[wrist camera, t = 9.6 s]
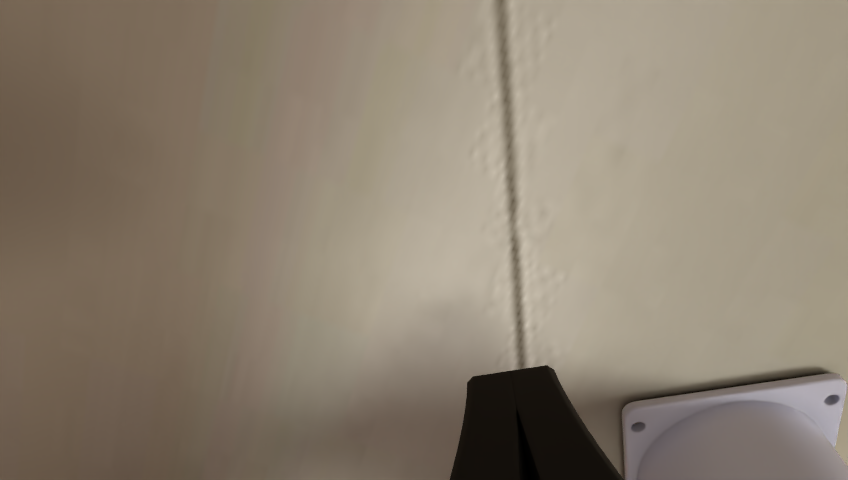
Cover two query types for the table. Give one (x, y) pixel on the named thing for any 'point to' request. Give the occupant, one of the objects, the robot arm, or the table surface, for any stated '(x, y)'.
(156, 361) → the table surface
